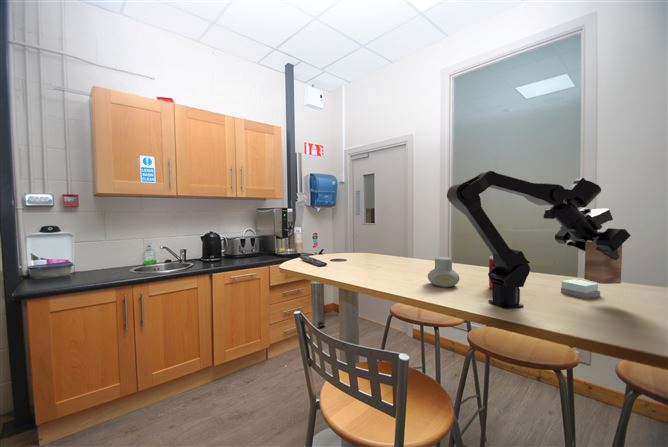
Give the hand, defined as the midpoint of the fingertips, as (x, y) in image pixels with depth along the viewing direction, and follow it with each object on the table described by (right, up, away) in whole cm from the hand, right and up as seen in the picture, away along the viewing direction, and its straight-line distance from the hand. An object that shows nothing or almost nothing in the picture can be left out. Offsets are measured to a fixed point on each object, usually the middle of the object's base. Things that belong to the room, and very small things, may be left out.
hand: (607, 256), depth 84 cm
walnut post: (-1, -7, 0) cm, 7 cm away
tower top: (0, -11, +9) cm, 15 cm away
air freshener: (-39, -13, +22) cm, 47 cm away
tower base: (0, -14, +9) cm, 17 cm away
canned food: (-21, -13, +16) cm, 30 cm away
